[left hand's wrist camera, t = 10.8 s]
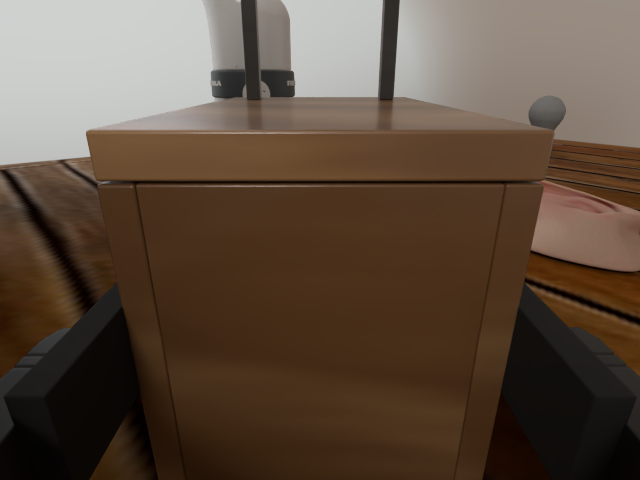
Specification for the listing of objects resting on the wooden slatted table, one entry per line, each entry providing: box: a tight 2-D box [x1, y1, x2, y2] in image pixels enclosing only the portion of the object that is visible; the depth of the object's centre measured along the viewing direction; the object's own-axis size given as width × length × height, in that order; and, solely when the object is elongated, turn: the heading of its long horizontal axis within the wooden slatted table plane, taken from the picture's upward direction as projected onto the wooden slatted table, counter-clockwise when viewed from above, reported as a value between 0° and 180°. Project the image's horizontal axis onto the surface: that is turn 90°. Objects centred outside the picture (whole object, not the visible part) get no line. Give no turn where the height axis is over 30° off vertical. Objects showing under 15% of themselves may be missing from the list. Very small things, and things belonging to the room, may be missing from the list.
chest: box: [97, 181, 544, 480], centre depth 18 cm, size 16×10×11 cm, turn 0°
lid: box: [86, 0, 554, 181], centre depth 15 cm, size 16×10×8 cm, turn 0°
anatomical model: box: [531, 180, 640, 272], centre depth 35 cm, size 13×4×12 cm
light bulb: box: [529, 96, 566, 131], centre depth 76 cm, size 6×6×10 cm
